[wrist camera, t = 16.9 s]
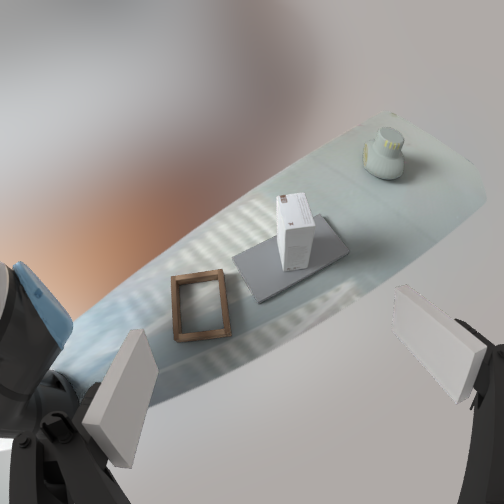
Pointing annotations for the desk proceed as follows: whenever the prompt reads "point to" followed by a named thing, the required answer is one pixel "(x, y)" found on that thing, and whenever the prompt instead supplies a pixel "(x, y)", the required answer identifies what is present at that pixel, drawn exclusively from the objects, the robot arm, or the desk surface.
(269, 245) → the slate board
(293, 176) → the desk surface
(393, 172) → the air freshener
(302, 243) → the skincare box
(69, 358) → the desk surface
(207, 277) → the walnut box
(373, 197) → the desk surface
